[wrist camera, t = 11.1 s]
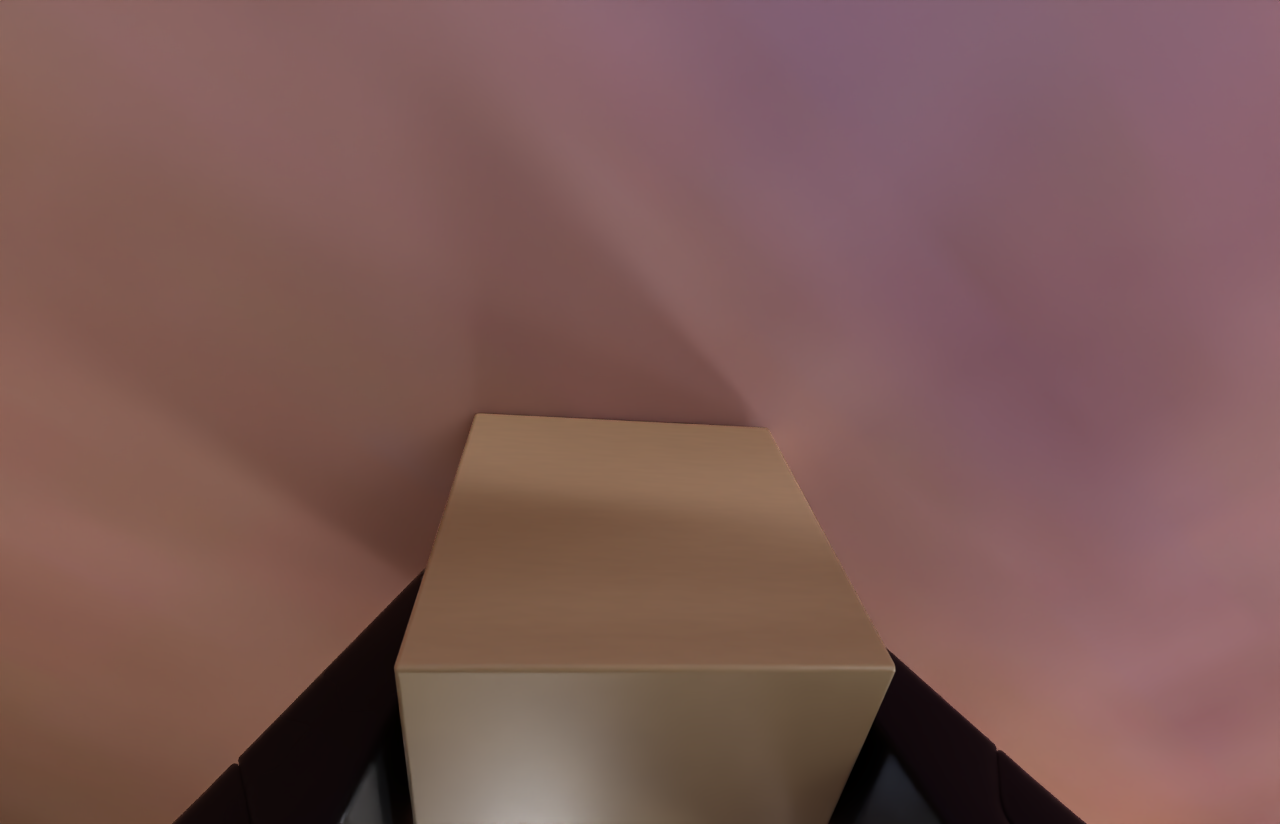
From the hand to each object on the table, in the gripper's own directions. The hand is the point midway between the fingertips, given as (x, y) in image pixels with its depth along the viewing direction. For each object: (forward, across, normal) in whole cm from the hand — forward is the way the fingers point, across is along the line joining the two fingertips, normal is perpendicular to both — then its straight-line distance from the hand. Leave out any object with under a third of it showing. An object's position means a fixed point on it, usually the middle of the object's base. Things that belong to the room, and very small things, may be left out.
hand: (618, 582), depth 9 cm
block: (+1, 0, 0) cm, 1 cm away
